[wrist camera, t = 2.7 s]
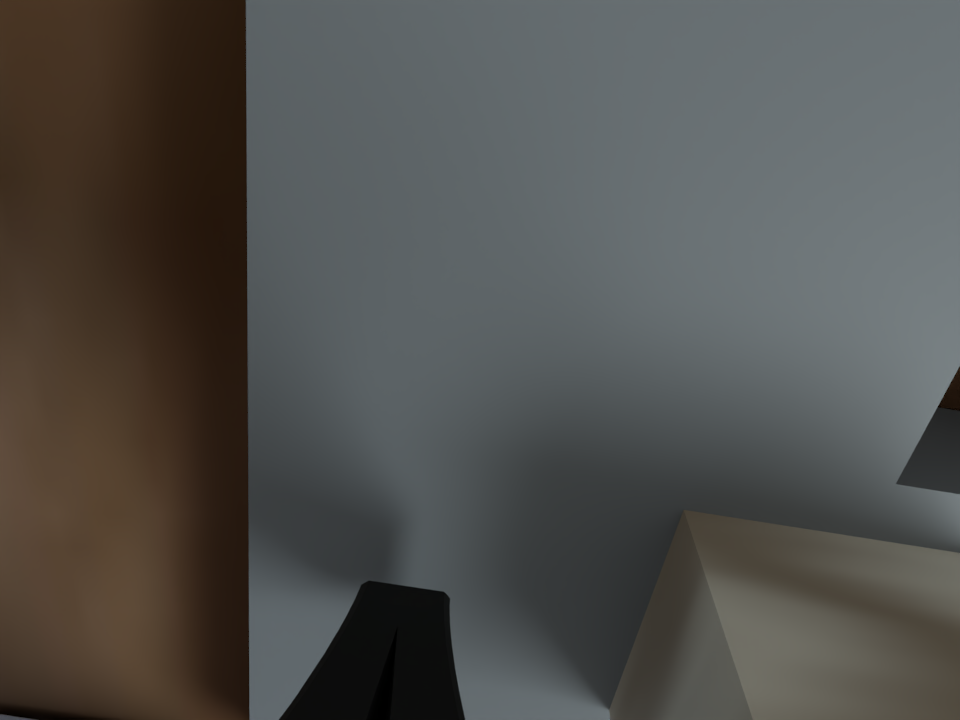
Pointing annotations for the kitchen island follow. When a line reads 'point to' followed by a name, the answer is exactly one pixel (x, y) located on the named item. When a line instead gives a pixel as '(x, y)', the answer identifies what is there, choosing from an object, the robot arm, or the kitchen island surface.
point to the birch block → (794, 628)
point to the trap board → (585, 310)
